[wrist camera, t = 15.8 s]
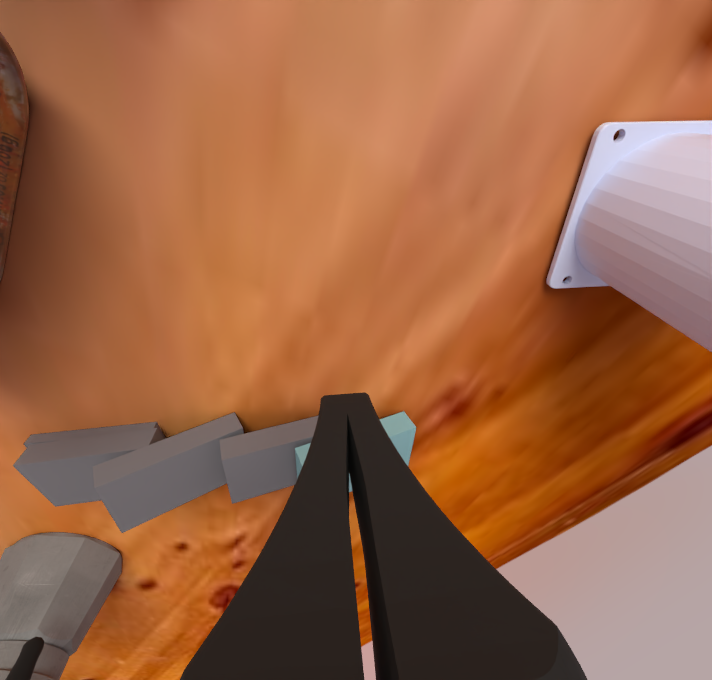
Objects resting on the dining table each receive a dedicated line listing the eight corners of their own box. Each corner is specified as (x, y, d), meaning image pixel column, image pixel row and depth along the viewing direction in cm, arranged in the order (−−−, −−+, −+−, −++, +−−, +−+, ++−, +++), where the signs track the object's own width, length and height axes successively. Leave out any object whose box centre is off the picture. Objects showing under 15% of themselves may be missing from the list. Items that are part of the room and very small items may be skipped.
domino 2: (147, 448, 22) (12, 465, 21) (175, 490, 24) (55, 506, 24) (157, 427, 23) (30, 444, 23) (182, 469, 26) (68, 484, 25)
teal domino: (416, 427, 24) (303, 468, 21) (407, 468, 27) (305, 509, 24) (403, 411, 25) (294, 448, 22) (396, 451, 28) (298, 489, 25)
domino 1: (152, 430, 23) (23, 443, 23) (175, 472, 26) (60, 485, 25) (161, 412, 24) (39, 424, 24) (182, 454, 27) (72, 465, 27)
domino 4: (349, 426, 24) (221, 460, 21) (346, 468, 26) (232, 503, 23) (341, 410, 25) (219, 439, 22) (339, 451, 27) (229, 483, 25)
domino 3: (242, 427, 23) (94, 488, 19) (251, 471, 25) (121, 533, 21) (234, 412, 24) (92, 466, 20) (243, 455, 26) (118, 511, 23)
